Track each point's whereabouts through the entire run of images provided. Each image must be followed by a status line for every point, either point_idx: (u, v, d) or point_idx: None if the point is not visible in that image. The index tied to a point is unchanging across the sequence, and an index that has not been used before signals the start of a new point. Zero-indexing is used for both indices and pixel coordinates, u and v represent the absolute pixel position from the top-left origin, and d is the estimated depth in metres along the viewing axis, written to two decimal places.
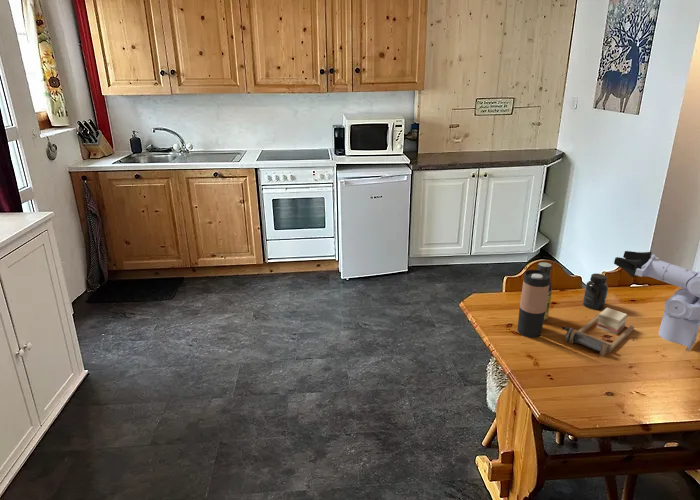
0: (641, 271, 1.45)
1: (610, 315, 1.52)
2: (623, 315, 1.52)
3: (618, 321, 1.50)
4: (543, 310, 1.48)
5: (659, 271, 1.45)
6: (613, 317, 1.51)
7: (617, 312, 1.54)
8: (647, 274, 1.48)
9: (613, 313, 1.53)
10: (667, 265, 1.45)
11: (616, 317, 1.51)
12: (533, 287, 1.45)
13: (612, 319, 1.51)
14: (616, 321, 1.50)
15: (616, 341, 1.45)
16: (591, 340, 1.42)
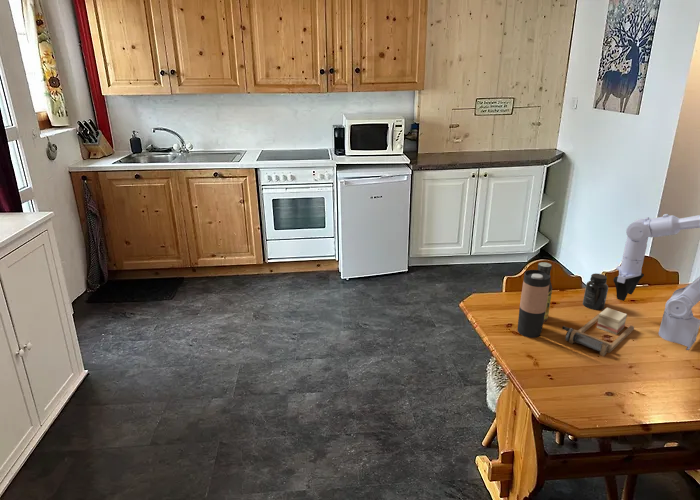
0: (618, 277, 1.49)
1: (610, 315, 1.52)
2: (623, 315, 1.52)
3: (618, 321, 1.50)
4: (543, 310, 1.48)
5: (626, 263, 1.51)
6: (613, 317, 1.51)
7: (617, 312, 1.54)
8: (633, 273, 1.50)
9: (613, 313, 1.53)
10: None
11: (616, 317, 1.51)
12: (533, 287, 1.45)
13: (612, 319, 1.51)
14: (616, 321, 1.50)
15: (616, 341, 1.45)
16: (591, 340, 1.42)
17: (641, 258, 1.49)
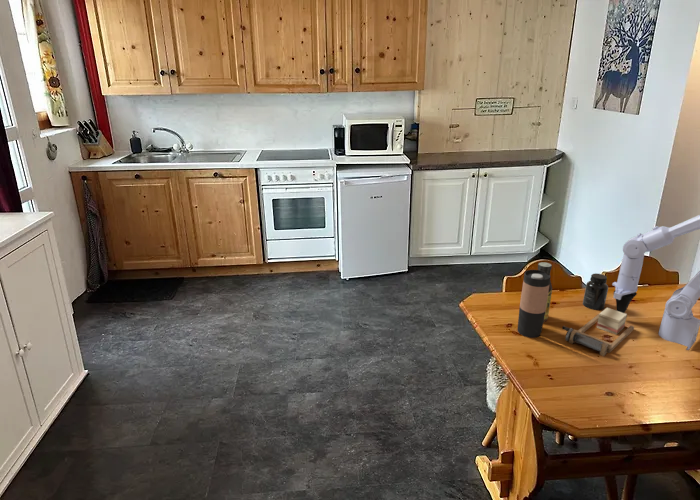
0: (615, 294, 1.51)
1: (610, 315, 1.52)
2: (623, 315, 1.52)
3: (618, 321, 1.50)
4: (543, 310, 1.48)
5: (622, 279, 1.53)
6: (613, 317, 1.51)
7: (617, 312, 1.54)
8: (629, 289, 1.53)
9: (613, 313, 1.53)
10: (619, 272, 1.55)
11: (616, 317, 1.51)
12: (533, 287, 1.45)
13: (612, 319, 1.51)
14: (616, 321, 1.50)
15: (616, 341, 1.45)
16: (591, 340, 1.42)
17: (637, 275, 1.51)
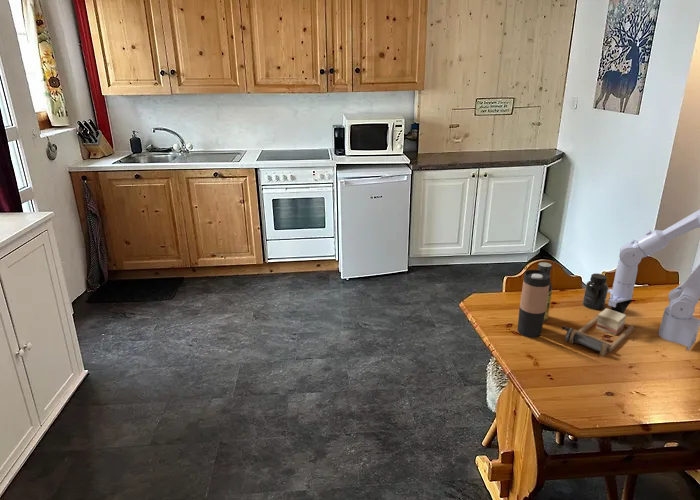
0: (609, 301, 1.50)
1: (609, 316, 1.52)
2: (622, 316, 1.52)
3: (617, 322, 1.49)
4: (543, 310, 1.48)
5: (617, 286, 1.51)
6: (612, 318, 1.51)
7: (616, 313, 1.54)
8: (624, 296, 1.51)
9: (612, 313, 1.53)
10: (614, 279, 1.53)
11: (615, 318, 1.51)
12: (533, 287, 1.45)
13: (611, 320, 1.50)
14: (616, 321, 1.50)
15: (616, 341, 1.45)
16: (591, 340, 1.42)
17: (633, 282, 1.49)
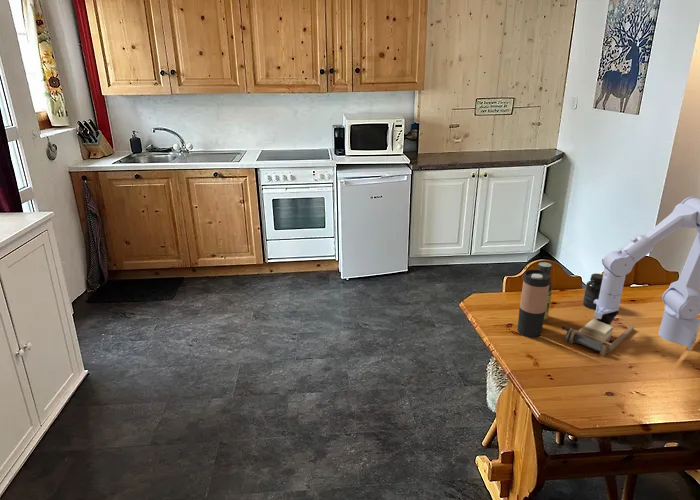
0: (595, 312, 1.43)
1: (596, 327, 1.45)
2: (609, 327, 1.45)
3: (604, 334, 1.43)
4: (543, 310, 1.48)
5: (603, 297, 1.45)
6: (599, 329, 1.44)
7: (603, 324, 1.47)
8: (610, 308, 1.44)
9: (599, 325, 1.47)
10: (600, 290, 1.47)
11: (602, 329, 1.44)
12: (533, 287, 1.45)
13: (597, 332, 1.44)
14: (602, 333, 1.43)
15: (616, 341, 1.45)
16: (591, 340, 1.42)
17: None
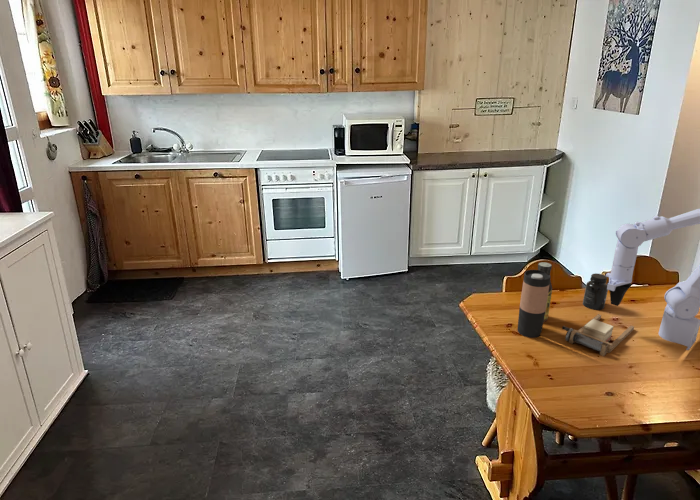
0: (608, 285, 1.43)
1: (596, 327, 1.45)
2: (609, 327, 1.45)
3: (604, 334, 1.43)
4: (543, 310, 1.48)
5: (616, 270, 1.45)
6: (599, 329, 1.44)
7: (603, 324, 1.47)
8: (623, 280, 1.45)
9: (599, 325, 1.47)
10: None
11: (602, 329, 1.44)
12: (533, 287, 1.45)
13: (598, 331, 1.44)
14: (602, 333, 1.43)
15: (616, 341, 1.45)
16: (591, 340, 1.42)
17: (634, 264, 1.44)
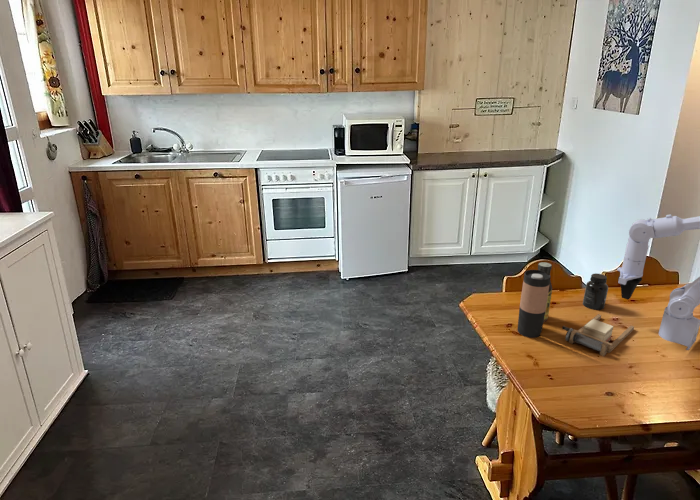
0: (620, 278, 1.47)
1: (596, 327, 1.45)
2: (609, 327, 1.45)
3: (604, 334, 1.43)
4: (543, 310, 1.48)
5: (627, 264, 1.49)
6: (599, 329, 1.44)
7: (603, 324, 1.47)
8: (634, 274, 1.48)
9: (599, 325, 1.47)
10: (624, 257, 1.51)
11: (602, 329, 1.44)
12: (533, 287, 1.45)
13: (598, 331, 1.44)
14: (602, 333, 1.43)
15: (616, 341, 1.45)
16: (591, 340, 1.42)
17: (644, 259, 1.47)
